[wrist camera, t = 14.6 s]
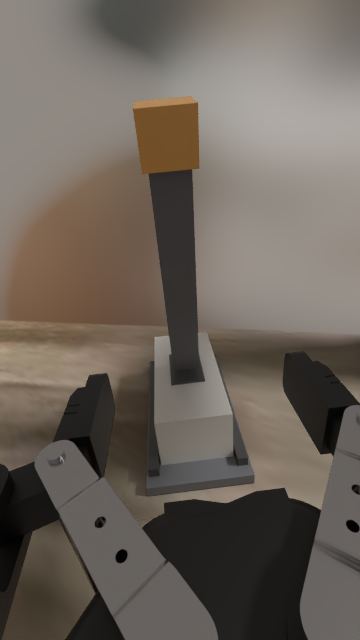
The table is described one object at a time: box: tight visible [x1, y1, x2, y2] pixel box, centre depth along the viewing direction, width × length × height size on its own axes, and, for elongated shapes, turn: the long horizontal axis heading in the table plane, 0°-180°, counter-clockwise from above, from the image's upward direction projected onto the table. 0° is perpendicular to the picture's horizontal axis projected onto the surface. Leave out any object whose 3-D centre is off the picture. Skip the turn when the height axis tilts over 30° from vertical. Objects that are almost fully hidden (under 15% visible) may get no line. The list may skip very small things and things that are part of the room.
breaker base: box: [146, 331, 254, 496], centre depth 32 cm, size 18×9×6 cm, turn 4°
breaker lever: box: [133, 97, 199, 371], centre depth 23 cm, size 3×3×21 cm
